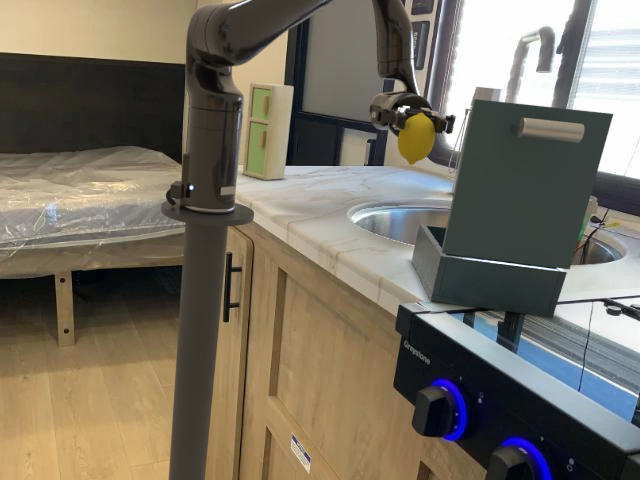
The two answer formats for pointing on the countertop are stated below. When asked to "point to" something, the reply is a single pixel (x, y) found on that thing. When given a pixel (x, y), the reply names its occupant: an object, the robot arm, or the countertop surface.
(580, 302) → the countertop surface
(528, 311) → the freezer
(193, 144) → the robot arm
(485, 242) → the freezer lid
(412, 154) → the lemon
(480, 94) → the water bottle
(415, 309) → the countertop surface
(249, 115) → the toy refrigerator
